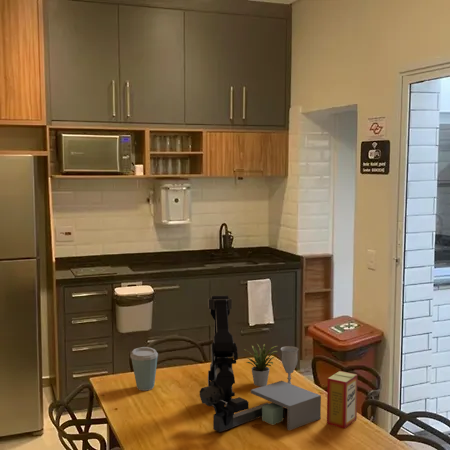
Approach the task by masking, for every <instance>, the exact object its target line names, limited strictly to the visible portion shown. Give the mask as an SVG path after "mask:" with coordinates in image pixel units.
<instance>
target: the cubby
mask: <svg viewBox="0 0 450 450" xmlns="http://www.w3.org/2000/svg"><path fill="white" fill-rule="evenodd" d="M287 382H288V381H287ZM287 382H286V381H284V380H278V381H276V382H272V383H270V384H267V385H265V386H258V387H256V388H252V389H250V394H252V395H254V396H256V397H260V398H261V399H264V400H265V401H269V402H270V403H275V404H277V405H280V406H282V407H283V408H284V409H287V410H286V411H287V418H286V421H287V422H286V424H287V425H286V427H287V428H286V429H287V431H292V430H294V429H297V428H300V427H302V426H305V425H307V424H311V423H313V422H315V421H318V420H321V413H322V412H321V411H322V410H321V409H322V408H321V407H322V401H321V400H322V397H321V396H322V395H320V394H318V393H315V392H313V391H310V390H308V389H306V388H303V387H299V386H297V385H294V384H292V383H291V384H289V383H287Z"/></svg>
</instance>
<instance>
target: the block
mask: <svg viewBox="0 0 450 450" xmlns="http://www.w3.org/2000/svg"><path fill="white" fill-rule="evenodd" d="M283 409H284V407H282V406H280V405H277V404H275V403H273V402H270V403H269V404H267V405H264V406H262V417H261V421H262V422H264V421H265V422H264V423H267V424H269V425H272V426H274V425H276V423H277V424H279V423H281V421H282V422H283V421H284V418H283Z"/></svg>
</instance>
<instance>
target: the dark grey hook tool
mask: <svg viewBox="0 0 450 450" xmlns="http://www.w3.org/2000/svg"><path fill="white" fill-rule="evenodd" d="M267 404H270V403H268V402H266V403H262V404H259V405H257V406H254V407H250V408H248V409H246V410H243V411H240V412H237V413H234V415H233V417H232V419H231V421H230V423H229V425H228V426H225V419H224V411H222V412H219V413H214V414H213V417H212V418H213V420H212V421H213V424H212V426H213V428H212V430H214V431H216V432H218V433H221V432H223V431H227V430H229V429H233V428H234V427H238V426H240V425H242V424H245V423H248V422H251V421H253V420H257V419H258V418H259V419H260V418H262V406H264V405H267ZM285 416H286V408H283V419H285V418H286V417H285Z"/></svg>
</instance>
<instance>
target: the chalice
mask: <svg viewBox="0 0 450 450" xmlns="http://www.w3.org/2000/svg"><path fill="white" fill-rule="evenodd" d="M280 351H281V364H282V366H283V369H284V371H285V373H287V374H288V375H287V377H286V378H287V383H289V384H292V382H291V379H292V375H291V374H292V373H294V371H295V370H296V369H295V368H296V367H297V364H298V352H299V347H297V346H292V345H290V346H289V345H287V346H282V347H281V348H280Z"/></svg>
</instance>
